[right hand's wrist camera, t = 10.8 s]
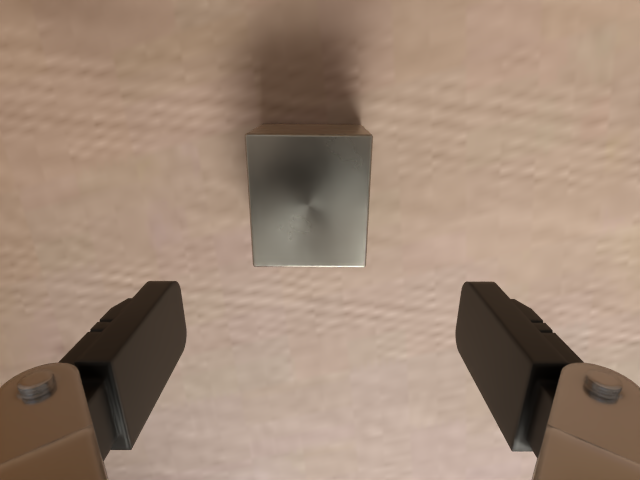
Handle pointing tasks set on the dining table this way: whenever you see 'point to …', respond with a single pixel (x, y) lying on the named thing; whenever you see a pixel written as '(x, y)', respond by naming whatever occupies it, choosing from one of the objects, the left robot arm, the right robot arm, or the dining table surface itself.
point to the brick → (309, 194)
